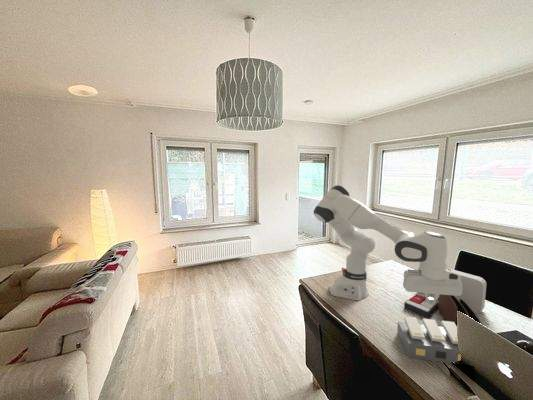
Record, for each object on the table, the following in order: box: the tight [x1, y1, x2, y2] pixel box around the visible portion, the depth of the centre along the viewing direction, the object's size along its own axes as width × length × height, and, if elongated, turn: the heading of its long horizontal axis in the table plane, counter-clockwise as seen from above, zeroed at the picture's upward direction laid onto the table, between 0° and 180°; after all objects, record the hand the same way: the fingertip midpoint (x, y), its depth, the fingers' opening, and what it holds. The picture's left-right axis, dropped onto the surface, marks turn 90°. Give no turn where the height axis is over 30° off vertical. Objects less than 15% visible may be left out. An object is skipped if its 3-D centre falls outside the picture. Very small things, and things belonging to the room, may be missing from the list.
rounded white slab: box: [427, 269, 487, 315], centre depth 123 cm, size 29×8×18 cm, turn 33°
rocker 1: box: [403, 316, 425, 340], centre depth 91 cm, size 4×9×2 cm, turn 166°
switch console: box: [396, 321, 461, 364], centre depth 90 cm, size 22×13×7 cm, turn 76°
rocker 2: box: [421, 318, 446, 342], centre depth 90 cm, size 4×9×2 cm, turn 166°
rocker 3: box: [440, 320, 458, 344], centre depth 88 cm, size 4×9×2 cm, turn 166°
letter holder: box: [437, 294, 482, 326], centre depth 105 cm, size 10×20×14 cm, turn 159°
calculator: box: [403, 294, 438, 319], centre depth 117 cm, size 11×4×15 cm
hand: (430, 302), depth 92 cm, fingers closed
